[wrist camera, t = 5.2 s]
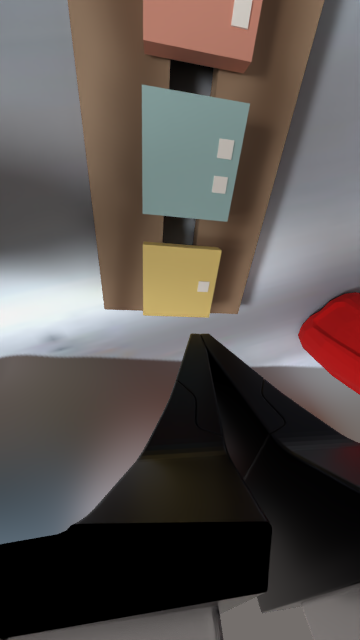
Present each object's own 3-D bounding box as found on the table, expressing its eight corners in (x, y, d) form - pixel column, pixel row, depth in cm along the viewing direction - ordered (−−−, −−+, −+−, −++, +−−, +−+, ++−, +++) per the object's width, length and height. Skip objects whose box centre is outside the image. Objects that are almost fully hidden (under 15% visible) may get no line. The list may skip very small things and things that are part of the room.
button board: (108, 300, 22) (104, 309, 20) (60, -165, 9) (38, -247, 8) (231, 305, 23) (237, 313, 22) (329, -80, 11) (360, -131, 9)
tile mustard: (145, 300, 20) (143, 315, 17) (145, 237, 17) (142, 244, 14) (202, 302, 21) (209, 317, 18) (212, 243, 18) (222, 250, 15)
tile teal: (145, 211, 16) (142, 213, 13) (145, 106, 13) (141, 83, 10) (216, 218, 17) (227, 221, 14) (233, 121, 14) (250, 102, 11)
